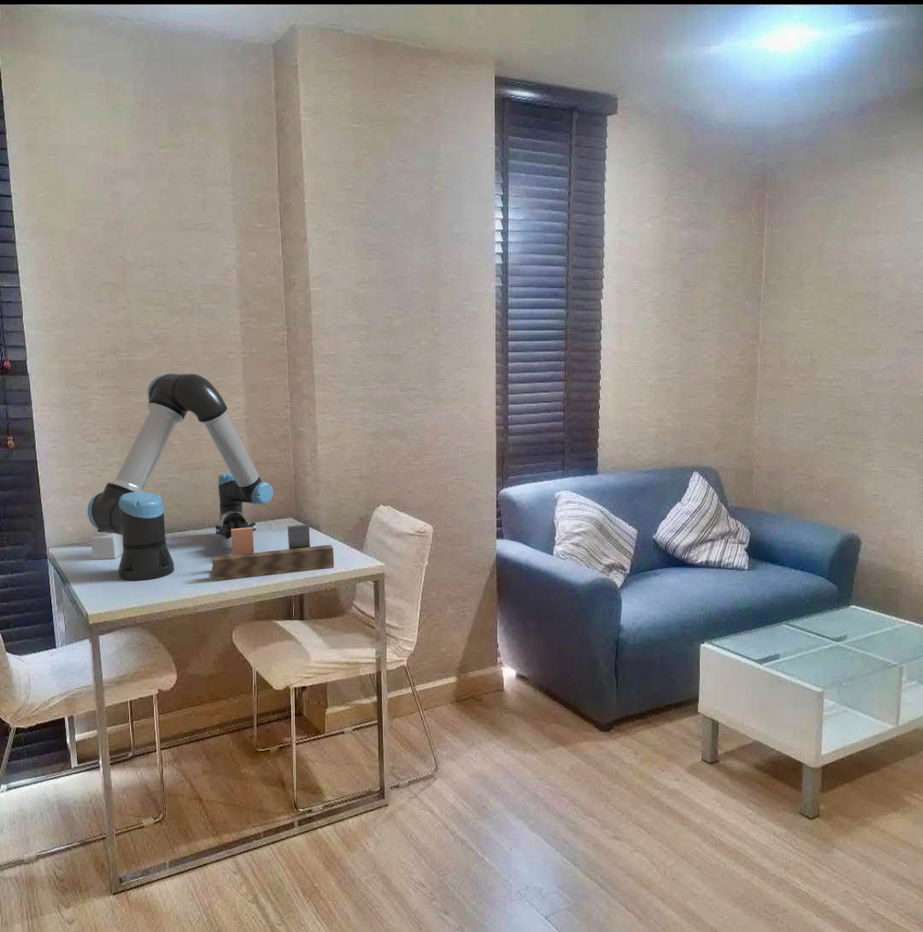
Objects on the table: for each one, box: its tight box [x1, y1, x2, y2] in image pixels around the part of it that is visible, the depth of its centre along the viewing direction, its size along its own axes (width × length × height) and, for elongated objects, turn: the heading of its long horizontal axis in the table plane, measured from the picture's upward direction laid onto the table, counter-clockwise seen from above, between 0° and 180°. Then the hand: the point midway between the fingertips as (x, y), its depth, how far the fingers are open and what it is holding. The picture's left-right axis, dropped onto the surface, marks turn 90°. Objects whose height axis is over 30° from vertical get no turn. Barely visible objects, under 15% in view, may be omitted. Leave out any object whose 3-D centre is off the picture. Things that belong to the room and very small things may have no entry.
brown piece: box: [211, 544, 335, 582], centre depth 229 cm, size 34×12×6 cm, turn 111°
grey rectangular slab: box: [287, 523, 311, 549], centre depth 231 cm, size 6×2×11 cm, turn 111°
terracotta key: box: [230, 527, 255, 555], centre depth 229 cm, size 6×2×11 cm, turn 111°
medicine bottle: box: [90, 528, 123, 560], centre depth 247 cm, size 7×7×12 cm
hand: (240, 538), depth 238 cm, fingers closed
